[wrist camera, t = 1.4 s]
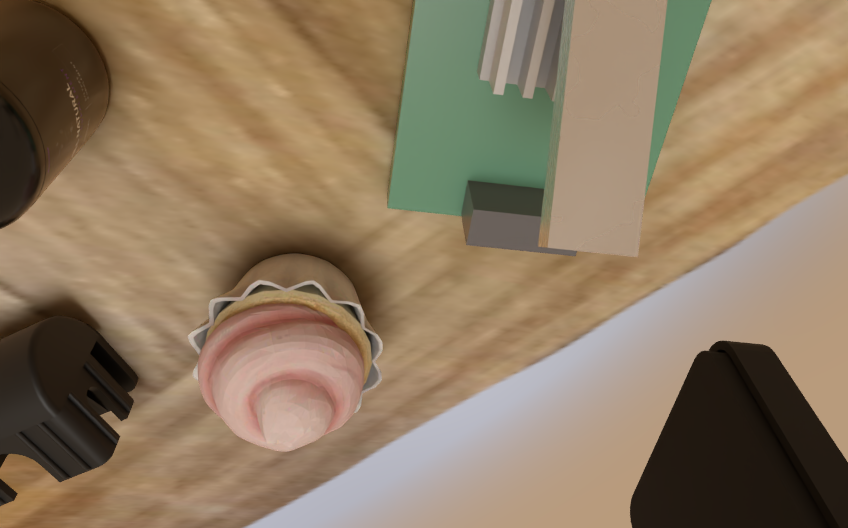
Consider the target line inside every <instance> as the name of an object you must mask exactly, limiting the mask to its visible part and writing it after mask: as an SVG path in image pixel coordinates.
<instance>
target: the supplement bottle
mask: <svg viewBox="0 0 848 528" xmlns="http://www.w3.org/2000/svg"><path fill="white" fill-rule="evenodd" d="M108 99H109V84H108V77H107V73H106V69H105V66H104V64H103V61H102V59H101V57H100V55H99V53H98V51H97V49H96V48H95V46H94V45H93V43H92V42H91V40H90V39H89V38H88V37H87V36H86V34H85V33H84V32H83V31H82V30H81V29H80V28H79V27H78V26H77V25H76V24H75V23H73V22H72V21H71V20H70V19H68V18H67V17H66V16H64V15H63V14H61V13H60V12H58V11H56V10H55V9H53V8H51V7H49V6H46V5H44V4H42V3H39V2H36V1H33V0H0V229H2V228H4V227H6V226H8V225H10V224H11V223H13V222H15V221H16V220H17V219H19V218H20V217H21V216H22V215H23V214H24V213H25V212H26V211H27V210H28V209H29V208H30V207H31V206H32V205H33V204H34V203H35V202H36V201H37V199H38V198H39V197H40V196H41V195H42V194H43V192H44V191H45V190H46V189H47V188H48V186H49V185H50V184H51V183H52V182H53V181H54V179H55V178H56V177H57V176H58V175H59V174H60V172H61V171H62V170H63V169H64V168H65V167H66V165H67V164H68V163H69V162H70V161H71V159H72V158H73V157H74V156H75V155H76V154H77V152H78V151H79V150H80V149H81V148H82V147H83V145H84V144H85V143H86V142H87V141H88V139H89V138H90V137H91V136H92V134H93V133H94V132H95V130H96V129H97V128H98V126H99V125H100V123H101V121H102V119H103V117H104V115H105V113H106V109H107V106H108Z"/></svg>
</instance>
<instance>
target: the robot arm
mask: <svg viewBox="0 0 848 528" xmlns="http://www.w3.org/2000/svg"><path fill="white" fill-rule="evenodd" d="M630 517H631V523H632V528H848V462H847V461H846V459H845V458H844V456H843V455H842V453H841V452H840V450H839V449H838V447H837V446H836V444H835V443H834V441H833V440H832V438H831V437H830V435H829V434H828V432H827V431H826V429H825V427H824V426H823V425H822V423H821V421H820V420H819V419H818V417H817V416H816V414H815V412H814V411H813V410H812V408H811V407H810V405H809V403H808V402H807V401H806V399H805V397H804V396H803V394H802V393H801V391H800V390H799V389H798V387H797V386H796V384H795V382H794V381H793V379H792V378H791V376H790V375H789V374H788V372H787V370H786V369H785V367H784V366H783V365H782V363H781V361H780V360H779V358H778V357H777V355H776V354H775V352H773V350H772V349H771V348H770V347H768V346H765V345H761V344H751V343H740V342H731V341H718V342H716V343H715V344H714V345H712V346H711V348H710V349H709V351H702V352H700V353H699V354H698V355H697V357H696V358H695V359H694V362H693V364H692V366H691V368H690V370H689V373H688V375H687V377H686V379H685V381H684V384H683V386H682V388H681V390H680V392H679V395H678V397H677V399H676V401H675V404H674V406H673V408H672V410H671V412H670V414H669V417H668V419H667V421H666V423H665V426H664V428H663V430H662V432H661V434H660V436H659V439H658V441H657V443H656V445H655V447H654V450H653V452H652V454H651V457H650V458H649V461H648V463H647V465H646V467H645V469H644V472H643V474H642V476H641V479H640V481H639V483H638V485H637V487H636V489H635V491H634V494H633V496H632V499H631V506H630Z"/></svg>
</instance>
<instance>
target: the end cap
mask: <svg viewBox="0 0 848 528" xmlns="http://www.w3.org/2000/svg"><path fill="white" fill-rule="evenodd" d="M137 380H138V377H137V375H136V373H135V372H134V371H133V370H132V369H131V368H130V367H129V366H128V365H127V363H126V362H125V361H124V360H123V359H122V358H121V357H120V356H119V355H118V354H117V352H116V351H115V350H114V349H113V348H112V347H111V346H110V345H109V344H108V343H107V342H106V340H105V339H104V338H103V337H102V336H101V335H100V334H99V333H98V332H97V331H96V330H95V329H93V328H92V327H91V326H89V325H88V324H85V323H83V322H81V321H79V320H77V319H75V318H71V317H67V316H54V317H50V318H47V319H44V320H42V321H40V322H38V323H36V324H33V325H31V326H29V327H27V328H25V329H22V330H20V331H18V332H16V333H13V334H11V335H9V336H7V337H5V338H2V339H0V467H1V466H2V464H3V462H4V460H5V458H6V457H7V455H8V454H19V455H23V456H26V457H29V458H31V459H33V460H35V461H36V462H38V463H39V464H40V465H41V466H42V467H43V468H45V469H46V470H47V471H48V472H49V473H50V474H51V475H52V476H53V477H55V478H56V479H57V480H58V481H59V482H62V481H64V480H67V479H69V478H72V477H74V476H77V475H79V474H82V473H84V472H87V471H89V470H92V469H94V468H97V467H99V466H101V465H103V464H104V463H106V462H107V461H108V460H109V459H110V458H111V456H112V455H113V453H114V450H115V448H116V445H117V443H118V440H119V438H120V436H119V435H118V434H117V433H116V431H115V430H114V429H113V428H112V427H111V426H110V425H109V424H108V423H107V422H106V421H105V420H104V419H103V418H102V417H101V416H100V415H101V414H104V413H106V412H109V411H112V412H113V413H114V414H115V415H116V416H117V417H118V418H119V419H120V420H121V421H122V420H124V419H127V418H128V415H129V413H130V410H131V408H132V405H133V402H134V400H133V399H132V397H131V396H130V395H129V394H128V393H127V392H130V391H132V390H133V389H134V388H135V386H136V384H137ZM17 494H18V493H16V492H15V491H14V490H13V489H12V488H10V487H9V486H8V485H7V484H6V483H5V482H3V481H2V480H1V479H0V506H1V505H4V504H6V503H9V502H11V501H14V499H15V498H16V496H17Z"/></svg>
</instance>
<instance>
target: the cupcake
mask: <svg viewBox="0 0 848 528" xmlns="http://www.w3.org/2000/svg"><path fill="white" fill-rule="evenodd" d="M188 338H189V341H190V343H191V345H192V346H193V347H194V348H195V350H196V351H197V352H198V354H199V361H198V363H197V365H196V367H195V369H194V371H193V377H194V378H195V379H196V380H198V382H199V386H200V389H201V393H202V395H203V398H204V400H205V402H206V403H207V405H208V406H209V407H210V408H211V409H212V410H213V411H214V412H215V413H216V414H217V415H218V416H219V417H221V418H222V419H223V420H224V421H225V423H226V424H227V426H228V427H229V428H230V429H231V430H232V431H233V432H234V433H235V434H236V435H237V436H238V437H240V438H242V439H244V440H246V441H249V442H251V443H254V444H256V445H259V446H262V447H265V448H268V449H272V450H276V451H291V450H294V449H297V448H299V447H302V446H304V445H306V444H309V443H311V442H314V441H316V440H317V439H319V438H320V437H321V436H323V435H326V434H327V433H329V432H332V431H334V430H336V429H338V428H340V427H342V426H343V424H344V423H345V422H346V421H347V420H348V419H349V418H350V417H351V416H352V415H353V413H356V412H357V411H358V410H359V408H360V407H361V401H362V393H364V392H366V391H368V390H371V389H373V388H375V387H376V386H377V385H378V384H379V383H380V382H381V381H382V377H381V371H380V369H379V368H378V366H377V364H376V363H375V361H376V359H377V358H378V357H379V355H380V354H381V352H382V341H381V339H380V338H379V336H378V335H377V333H376V332H375V330H374V329H373V328H372V326H371V325H370V324H369V322H368V321H367V319H366V316H365V314H364V312H363V310H362V307H361V304H360V301H359V299H358V296H357V293H356V290H355V288H354V286H353V284H352V282H351V281H350V280H349V279H348V278H347V276H346V275H345V274H344V273H343V272H342V271H340V270H339V269H338V268H336V267H335V266H334V265H332V264H331V263H329V262H328V261H326V260H323V259H320V258H318V257H314V256H311V255H306V254H299V253H293V254H283V255H278V256H275V257H271V258H268V259H265V260H263V261H261V262H260V263H258V264H257V265H255V266H254V267H252V268H251V269H250V270H249V271H248V272H247V273H246V274H245V275H244V276H243V277H242V279H241V280H240V281H239V282H238V284H237V285H236V286H235V288H234V289H233V290H231V291H229V292H227V293H225V294H222V295H220V296H218V297H216V298H213V299H211V301H210V304H209V319H208V320H206V321H205V322H204V323H203V324H201V325H200V326H199V327H198V328H196V329H195V330H194V331H192V332H191V333H190V334H189V335H188Z"/></svg>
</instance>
